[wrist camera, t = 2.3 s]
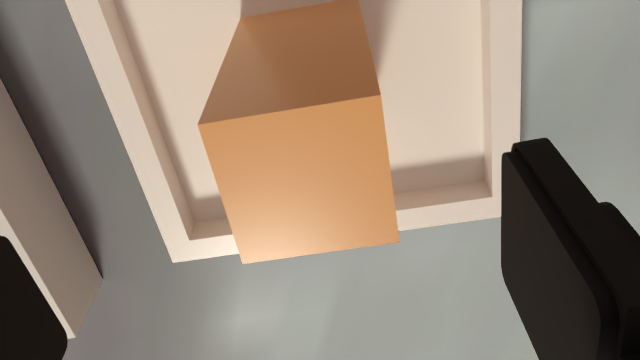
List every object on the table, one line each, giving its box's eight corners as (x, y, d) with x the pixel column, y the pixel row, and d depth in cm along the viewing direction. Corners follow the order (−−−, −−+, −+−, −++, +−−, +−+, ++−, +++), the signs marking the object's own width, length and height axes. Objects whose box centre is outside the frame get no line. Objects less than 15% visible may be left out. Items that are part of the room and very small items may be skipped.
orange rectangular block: (357, -4, 19) (381, 94, 12) (372, 105, 21) (399, 242, 14) (240, 17, 19) (197, 124, 12) (266, 122, 21) (242, 263, 14)
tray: (504, -216, 16) (526, -221, 14) (504, 186, 24) (518, 214, 22) (46, -120, 17) (17, -115, 16) (182, 232, 25) (173, 262, 23)
